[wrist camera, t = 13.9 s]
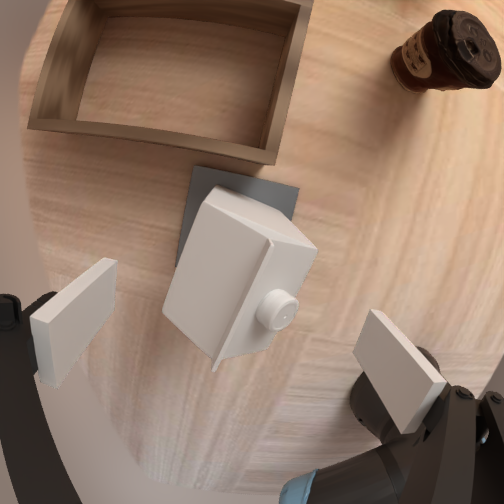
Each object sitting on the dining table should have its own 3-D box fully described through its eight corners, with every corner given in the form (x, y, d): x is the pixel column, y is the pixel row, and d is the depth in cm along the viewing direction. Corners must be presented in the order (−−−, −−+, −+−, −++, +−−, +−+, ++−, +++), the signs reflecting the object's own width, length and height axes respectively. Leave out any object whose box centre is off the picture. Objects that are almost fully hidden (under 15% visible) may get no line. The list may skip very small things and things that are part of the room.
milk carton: (190, 246, 32) (145, 348, 14) (216, 183, 30) (193, 212, 12) (252, 270, 33) (276, 390, 15) (280, 210, 32) (344, 274, 13)
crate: (264, 165, 31) (274, 165, 23) (66, 133, 28) (27, 128, 21) (296, 32, 27) (313, 0, 19) (103, 10, 24) (77, -18, 16)
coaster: (273, 283, 35) (273, 286, 34) (176, 264, 33) (175, 267, 33) (297, 187, 32) (299, 188, 31) (194, 165, 31) (193, 165, 30)
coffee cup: (379, 90, 29) (447, 64, 17) (379, 31, 27) (437, -12, 14) (437, 109, 30) (510, 98, 17) (435, 52, 28) (501, 27, 15)
